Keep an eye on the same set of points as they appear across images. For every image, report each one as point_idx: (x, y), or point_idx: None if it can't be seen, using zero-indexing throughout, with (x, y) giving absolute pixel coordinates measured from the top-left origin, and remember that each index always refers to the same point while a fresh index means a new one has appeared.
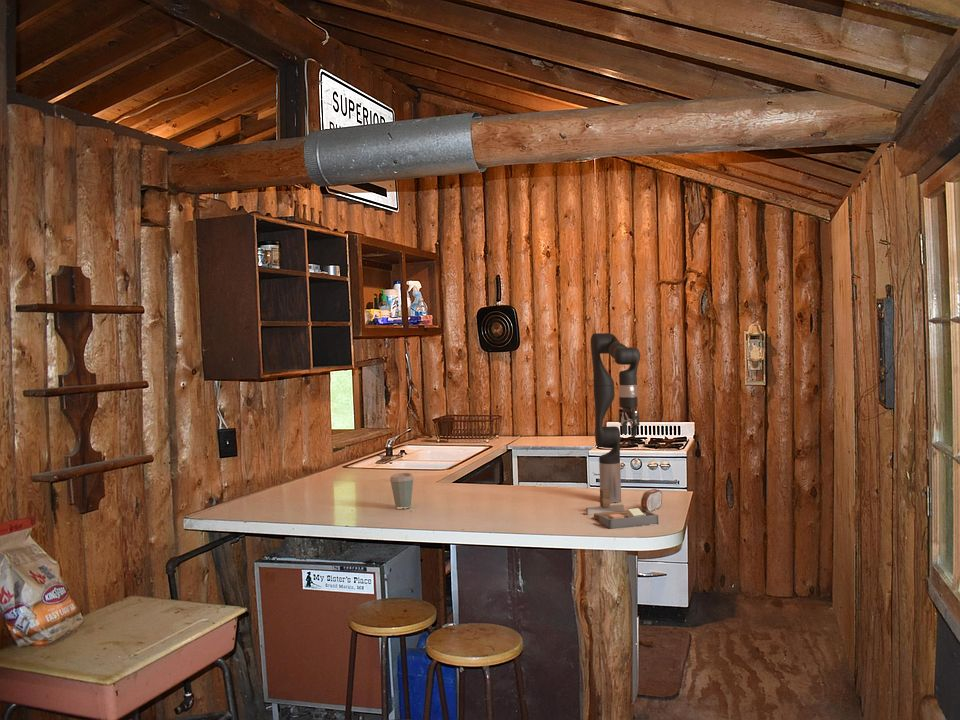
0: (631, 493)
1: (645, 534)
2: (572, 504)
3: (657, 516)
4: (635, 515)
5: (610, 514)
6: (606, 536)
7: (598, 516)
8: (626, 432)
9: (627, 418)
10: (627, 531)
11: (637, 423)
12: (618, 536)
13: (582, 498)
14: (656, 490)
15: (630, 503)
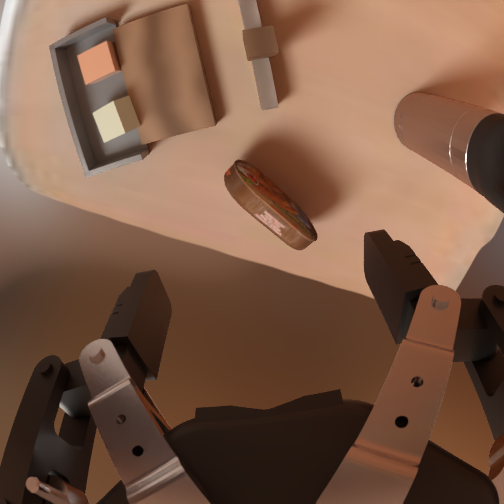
0: (474, 209)
1: (16, 128)
2: (405, 5)
3: (86, 174)
4: (94, 117)
5: (160, 49)
6: (9, 46)
7: (150, 15)
8: (368, 275)
9: (144, 433)
10: (38, 89)
11: (61, 406)
12: (6, 71)
13: (469, 67)
14: (281, 235)
15: (376, 163)
